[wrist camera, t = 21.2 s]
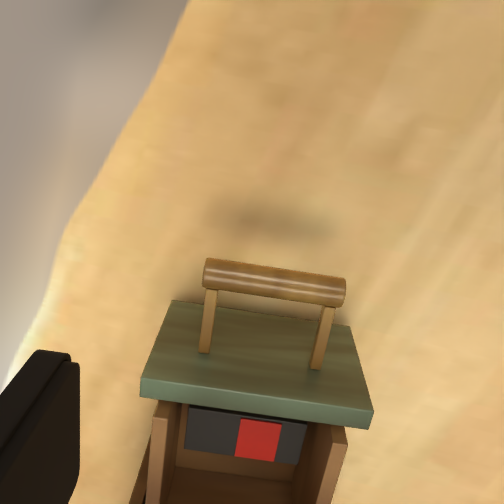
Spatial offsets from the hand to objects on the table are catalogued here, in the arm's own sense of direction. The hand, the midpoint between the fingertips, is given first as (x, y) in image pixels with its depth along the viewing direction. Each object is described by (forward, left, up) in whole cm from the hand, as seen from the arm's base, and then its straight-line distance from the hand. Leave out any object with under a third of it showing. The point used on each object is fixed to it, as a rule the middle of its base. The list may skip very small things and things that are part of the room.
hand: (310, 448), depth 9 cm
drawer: (+12, +2, -19) cm, 23 cm away
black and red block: (+14, +3, -18) cm, 23 cm away
